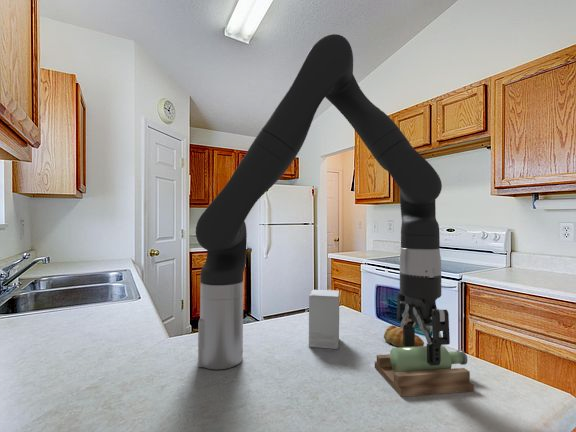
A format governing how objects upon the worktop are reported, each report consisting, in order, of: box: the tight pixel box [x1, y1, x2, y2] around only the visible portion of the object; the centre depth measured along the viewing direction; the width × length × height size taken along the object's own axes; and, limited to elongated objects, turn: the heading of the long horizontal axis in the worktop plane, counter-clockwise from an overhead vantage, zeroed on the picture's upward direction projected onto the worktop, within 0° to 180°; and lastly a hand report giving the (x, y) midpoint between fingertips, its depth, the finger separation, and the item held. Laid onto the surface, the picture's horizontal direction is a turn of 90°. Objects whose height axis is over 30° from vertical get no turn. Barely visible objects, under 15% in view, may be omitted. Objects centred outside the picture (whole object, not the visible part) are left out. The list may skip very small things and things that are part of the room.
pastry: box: [383, 325, 425, 348], centre depth 78 cm, size 9×7×4 cm
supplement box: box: [308, 289, 340, 350], centre depth 78 cm, size 7×7×13 cm
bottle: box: [389, 345, 468, 372], centre depth 61 cm, size 14×5×5 cm, turn 98°
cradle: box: [374, 353, 475, 398], centre depth 60 cm, size 14×11×3 cm
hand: (420, 354), depth 60 cm, fingers open, 8 cm apart
